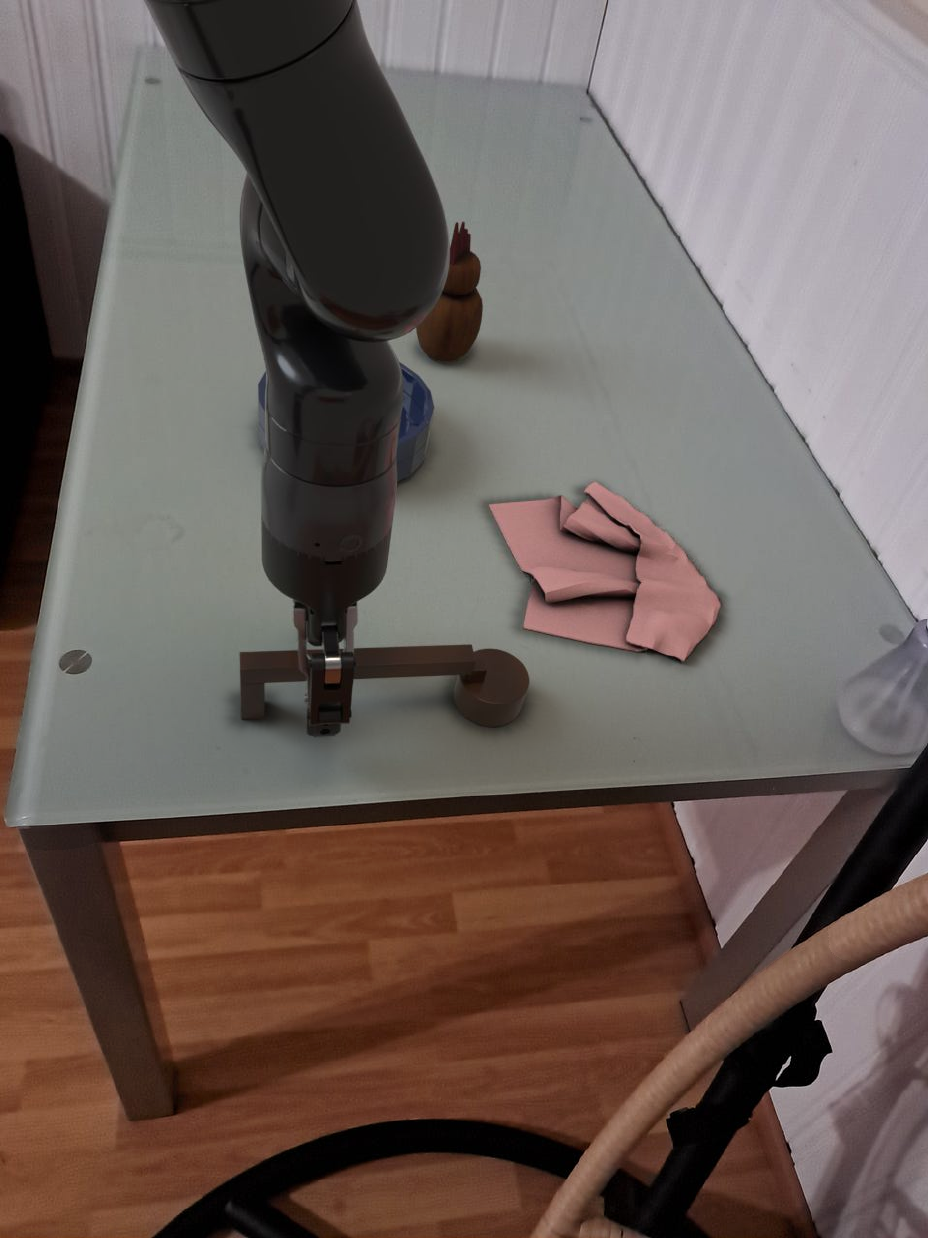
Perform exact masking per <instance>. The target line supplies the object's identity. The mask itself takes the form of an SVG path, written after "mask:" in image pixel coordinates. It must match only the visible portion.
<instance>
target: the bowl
mask: <svg viewBox="0 0 928 1238" xmlns="http://www.w3.org/2000/svg"><path fill="white" fill-rule="evenodd" d="M399 363H400V366H401V369H402V375H403V386H404V389H403V405H402V413H401V421H400V429H399V437H398V446H397V457H396V463H397V482H399V481H401V480H403V479H406V478H407V477H410V476H411V475H412V474H413V473H414V472H415V471H416V470H417V469H418V468H419V467H420V466H421V464H422V463H423V462H424V461H425V458H426V454H427V451H428V447H429V444H430V438H431V437H430V436H431V430H432V425H433V424H432V423H433V418H434V413H435V404H434V399H433V395H432V391H431V390H430V388H429V387H428V386H427V384H426V383H425V381H424V380H423V379H422V378H421V376H420V375H419V374H417V373H416V372H415V371H413V370H412V369H411V368H409V367H408V366H406V365H405V364H403V363H402V362H400V361H399ZM265 388H266V370H265V371H264V373H263V374H262V376H261V377H260V380H259V382H258V384H257V432H258V437H257V438H258V442H259V444H260V447H262V449H263V452H264V451H265Z"/></svg>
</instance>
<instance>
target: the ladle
mask: <svg viewBox="0 0 928 1238" xmlns="http://www.w3.org/2000/svg"><path fill="white" fill-rule="evenodd" d="M343 650H344V648H340V652H343ZM311 653H322V648H321V649H319V648H318V649H307V654H308V655H309V656H311ZM354 657H356V666H354V677H353V680H374V679H375V680H376V679H397V678H399V679H401V678H422V677H424V678H425V677H446V676H456V681H455V685H454V689H453V701H454V704H455V707H456V708H457V710H458V711H459V712H460V714H461V715H462V716H463V717H464V718H466V720H468V721H470V722H472V723H473V724H476V725H480V726H483V727H489V728H496V727H502V726H505V725H507V724H509V723H511V722H513V721H514V720H515V719H517V717H518V716H519V714H520V713H521V710H522V708H523V705H524V702H525V700H526V699H525V698H526V695H527V693H528V690H529V687H530V675H529V672H528V670H527V668H526V666H525V664H524V663H523V662H522V661H521V660H520V659H519V658H517V657H516V656H515V655H514V654H511V653H510V652H508V651H506V650H503V649H498V648H481V649H477V650H475V651H474V648H473V644H471V643H470V644H469V643H468V644H440V645H439V644H438V645H413V646H412V645H410V646H384V647H383V646H380V647H354ZM297 682H298V683H299V682H301V683H302V682H306V674H304V673H302V672H301V671H300V669H299V666H298V654H297V649H294V650H293V649H292V650H290V649H289V650H263V651H261V650H260V651H239V695H240V697H239V701H240V719H241V720H251V719H252V720H253V719H255V720H256V719H265V698H266V697H265V696H266V695H265V691H266V690H265V687H266V686H265V685H266V684H274V683H297Z"/></svg>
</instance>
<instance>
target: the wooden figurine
mask: <svg viewBox="0 0 928 1238" xmlns="http://www.w3.org/2000/svg"><path fill="white" fill-rule="evenodd" d="M459 224H460V225H459ZM459 227H460V228H459ZM471 241H472V235H471V233H469V229H468V228H466V222H465V221H461V223H459V222H458V221H455V224H454V229H453V233H452V237H451V241H450V261H449V269H448V274H447V278H446V282H445V285H444V288H443V291H442V293H441V296H440V298H439V300H438V302H437V304H436V305H435V307H434V309H433V310H432V312H431V313H430V314H429V316H428V317H427V318H426V319H425V320H424V321H423V322H422V323H421V324H420V325H419V326H418V327H416V328H415V333H416V337H417V340H418V343H419V346H420V349H421V350H422V352H423V353H424V354H425V355H426V356H427V357H428V358H429V359H431V360H433V361H436V362H443V363H446V362H447V363H448V362H449V363H451V362H454V361H455V362H456V361H457V360H460V359H461V358H463V357H465V356H466V355H467V354H468V352H469V351H470V350H471V349H472V347H473V345H474V344H475V343H476V340H477V338H478V335H479V333H480V330H481V326H482V322H483V321H482V320H483V312H484V311H483V310H484V305H483V304H484V303H483V298H482V296H481V294H480V292H479V290H478V289H477V287H478V285H479V283H480V278H481V273H482V272H481V271H482V265H481V259H480V258H479V257H478V255H477V254H476V253H474V252H473V251H472V250H471V244H472V243H471Z"/></svg>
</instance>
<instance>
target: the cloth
mask: <svg viewBox="0 0 928 1238" xmlns="http://www.w3.org/2000/svg"><path fill="white" fill-rule="evenodd" d="M583 493H584V494H588V495H589V496H588V497H587V498H586V500H585V501H584V502H581V504H580V506H579V508H577V507H576V506H575V505H574V504H573V503H572V502H570V501H569V500H568V499H567V498H566V497H565V496H564V495H562V494H561V495H559V494H558V495H557V496H554V497H551V498H547V499H539V500H527V501H526V500H525V501H513V502H512V501H511V502H502V503H491V504H488V507H489V509H490V511H491V513H492V515H493V518H494V519H495V522H496V523H497V526H498V528H499V530H500V531H501V534H502V535H503V537H504V540H505V542H506V543H507V546H508V548H509V549H510V551H511V552H512V555H513V557H514V559H515V562H516V563H517V565H518V566H519V568H520V570H521V571H522V572H525V573H528V574H530V575H531V576H532V577H534V578H533V580H532V585H531V588H530V593H529V598H528V601H527V604H526V605H527V606H526V610H525V616H524V620H523V621H524V622H523V628H522V629H524V630H529V631H533V632H537V633H542V634H545V635H550V636H555V637H558V638H564V639H570V640H574V641H578V642H582V643H586V644H587V643H588V644H592V645H599V646H604V647H610V648H616V649H619V650H620V649H621V650H624V651H625V650H626V651H631V652H636V653H639V652H644V651H647V650H648V649H651V650H653V651H656V652H657V653H661V654H663V655H666V656H670V657H675V658H676V659H677V660H679V662H681V663H682V662H685V660H687V658H689V656H690V655H691V654H692V652H693V651H694V650H695V648H696V647H697V645H698V644H700V643H701V642H702V641H703V639H704V638H705V637H706V636H707V634H708V632H709V631H710V629H711V628H712V627H714V625H715V624H716V622H717V620H718V617H719V611H720V610H721V608H722V603H721V600H720V596H719V595H718V594H717V593H715V591H713V590H712V589H711V588H710V587H709V585H708V583H707V582H706V580H705V577H704V576H703V575H701V574H700V573H699V572H698V570H697V568H696V566H695V565H694V564H693V563H692V561H691V560H689V558H688V556H687V554H686V552H685V551H684V550H683V548H682V547H681V546H680V545H679V544H678V543H676V542H675V541H674V540H673V538H672V537H671V536H670V535H669V534H668V533H667V532H666V531H664V530H663V529H661V528H660V527H658V526H657V525H655V524H654V522H652V520H651V518H649V517H648V516H647V515H645V514H644V513H643V512H641V511H639V510H638V509H636V508H634V507H633V506H632V505H631V503H629V502H628V501H627V500H626V499H625V498H623V497H622V496H620V495H619V494H616V493H615V492H612V491H611V490H609V489H607V488H606V487H604V486H603V485H602V484H600V483H598V482H597V481H593V482H592V483H590V484H589V485H587V487H586V488H585V490H584V491H583Z"/></svg>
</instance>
